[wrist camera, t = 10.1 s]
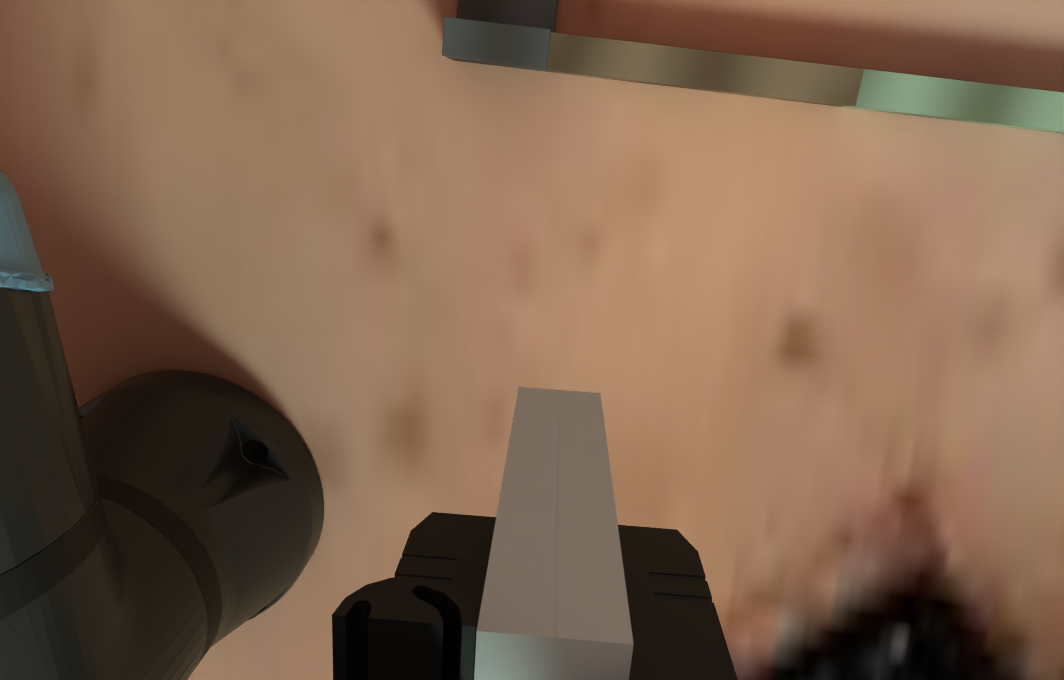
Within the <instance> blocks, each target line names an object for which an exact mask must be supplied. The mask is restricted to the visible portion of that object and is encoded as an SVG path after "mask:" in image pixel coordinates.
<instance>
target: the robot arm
mask: <svg viewBox="0 0 1064 680" xmlns="http://www.w3.org/2000/svg"><path fill="white" fill-rule="evenodd" d="M48 290H52V291H53V290H54V283H53V280H52V277H50V276H49V275H47V274H46V273H45V272H43V270H42V267H41V264H40V261H39V258H38V255H37V252H36V249H35V246H34V243H33V240H32V237H31V233H30V230H29V227H28V224H27V221H26V218H25V215H24V211H23V208H22V205H21V202H20V199H19V196H18V194H17V192H16V190H15V187H14V186H13V184H12V183H11V181H10V180H9V178H8V177H7V176H6V175H5V174H4V173H3V172H2V171H1V170H0V680H188V678H189V677H190V675H191V674H192V672H193V671H194V669H195V668H196V666H197V665H198V664H199V662H200V661H201V660H202V658H203V657H204V655H205V654H206V653H207V651H208V650H209V649H210V647H211V646H213V645H214V644H215V643H217V642H218V641H220V640H221V639H222V638H224V637H225V636H226V635H228V634H229V633H231V632H232V631H233V630H235V629H236V628H237V627H239V626H240V625H242V624H243V623H244V622H246V621H247V620H249V619H252V618H254V617H256V616H257V615H259V614H260V613H262V612H264V611H265V610H267V609H268V608H270V607H271V606H272V605H274V604H275V603H276V602H277V601H278V600H279V599H280V598H281V597H283V596H284V595H285V594H286V592H287V591H288V590H289V589H290V588H291V587H292V586H293V584H294V583H295V581H296V580H297V579H298V577H299V576H300V574H301V572H302V571H303V569H304V568H305V566H306V565H307V563H308V561H309V560H310V558H311V556H312V555H313V553H314V551H315V549H316V546H317V544H318V541H319V538H320V535H321V531H322V526H323V519H324V499H323V491H322V486H321V482H320V478H319V475H318V472H317V469H316V466H315V464H314V461H313V459H312V457H311V455H310V453H309V451H308V450H307V448H306V446H305V445H304V443H303V441H302V440H301V438H300V437H299V436H298V434H297V433H296V432H295V430H294V429H293V428H292V427H291V426H290V424H289V423H288V422H287V421H286V420H285V419H284V418H283V417H282V416H281V415H280V414H279V413H278V412H277V411H276V410H274V409H273V408H272V407H271V406H270V405H268V404H267V403H266V402H264V401H263V400H261V399H260V398H259V397H257V396H255V395H254V394H252V393H251V392H249V391H247V390H245V389H243V388H242V387H239V386H237V385H235V384H233V383H231V382H228V381H226V380H223V379H220V378H217V377H214V376H210V375H206V374H201V373H196V372H188V371H159V372H152V373H147V374H142V375H139V376H136V377H133V378H130V379H127V380H125V381H123V382H121V383H119V384H117V385H115V386H114V387H112V388H110V389H108V390H106V391H105V392H103V393H101V394H99V395H98V396H96V397H94V398H93V399H91V400H89V401H88V402H86V403H85V404H84V405H82V406H81V407H80V408H79V409H78V405H77V401H76V397H75V394H74V390H73V386H72V382H71V378H70V374H69V370H68V366H67V362H66V358H65V355H64V351H63V347H62V343H61V339H60V335H59V331H58V327H57V323H56V319H55V315H54V312H53V308H52V304H51V300H50V296H49V292H48ZM332 635H333V680H737V676H736V673H735V670H734V667H733V663H732V660H731V657H730V654H729V651H728V647H727V644H726V641H725V638H724V634H723V631H722V628H721V625H720V622H719V618H718V615H717V612H716V609H715V605H714V603H713V602H712V596H711V592H710V589H709V586H708V583H707V581H705V573H704V570H703V567H702V563H701V560H700V557H699V554H698V551H697V550H696V549H695V548H694V547H693V546H692V545H691V544H690V543H689V542H688V541H687V540H686V539H685V538H684V537H683V536H682V535H681V534H680V532H679V531H678V530H674V529H662V528H650V527H638V526H625V525H618V523H617V516H616V508H615V500H614V493H613V485H612V478H611V470H610V463H609V455H608V448H607V440H606V432H605V425H604V417H603V410H602V402H601V395H600V393H591V392H578V391H566V390H553V389H540V388H527V387H519V388H518V394H517V400H516V406H515V412H514V417H513V423H512V429H511V435H510V440H509V446H508V452H507V458H506V464H505V469H504V475H503V481H502V487H501V493H500V498H499V504H498V510H497V516H496V517H485V516H472V515H460V514H448V513H436V512H432V513H431V514H430V515H429V516H428V517H426V518H425V519H424V520H423V521H422V522H421V523H419V524H418V525H417V526H416V527H415V528H414V529H412V530H411V532H410V535H409V537H408V540H407V543H406V545H405V548H404V551H403V553H402V559H400V561H399V564H398V567H397V569H396V572H395V578H389V579H385V580H382V581H378V582H375V583H371V584H368V585H365V586H364V587H362V588H361V589H359V590H357V591H356V592H354V593H352V594H351V595H349V596H347V597H346V598H345V599H344V600H343V602H342V603H341V604H340V605H339V607H338V608H337V609H336V610H335V612H334V613H333V614H332Z"/></svg>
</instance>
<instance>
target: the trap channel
mask: <svg viewBox="0 0 1064 680" xmlns="http://www.w3.org/2000/svg"><path fill="white" fill-rule="evenodd" d="M557 1H558V0H458V8H457V18H449V17H445V19H444V32H443V46H442V55H443V56H446V57H448V58H450V59H452V60H455V61H463V62H472V63H480V64H488V65H497V66H505V67H513V68H522V69H530V70H539V71H547V72H555V73H564V74H572V75H580V76H589V77H597V78H605V79H614V80H622V81H630V82H639V83H647V84H656V85H664V86H672V87H681V88H689V89H697V90H706V91H714V92H722V93H731V94H739V95H747V96H756V97H764V98H772V99H781V100H789V101H798V102H806V103H814V104H823V105H831V106H839V107H848V108H856V109H864V110H873V111H881V112H889V113H898V114H906V115H914V116H923V117H931V118H940V119H948V120H956V121H965V122H973V123H981V124H990V125H998V126H1006V127H1015V128H1023V129H1031V130H1040V131H1048V132H1057V133H1064V92H1055V91H1047V90H1038V89H1030V88H1021V87H1013V86H1004V85H996V84H987V83H979V82H970V81H962V80H953V79H945V78H936V77H928V76H919V75H911V74H902V73H894V72H885V71H877V70H868V69H860V68H851V67H843V66H834V65H826V64H817V63H809V62H800V61H792V60H783V59H775V58H766V57H758V56H749V55H741V54H732V53H724V52H715V51H707V50H698V49H690V48H681V47H673V46H664V45H656V44H647V43H639V42H631V41H622V40H614V39H605V38H597V37H588V36H580V35H571V34H563V33H554V27H555V18H556V9H557Z"/></svg>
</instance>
